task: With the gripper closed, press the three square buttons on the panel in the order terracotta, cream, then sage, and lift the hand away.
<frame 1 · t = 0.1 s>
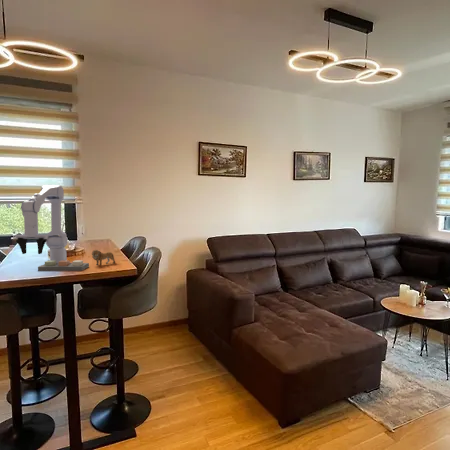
hand: (32, 253, 163), 10 cm above the table, tool pointing down, fingers open, 7 cm apart
lion figurine: (103, 264, 189), on the table
terracotta button: (64, 263, 176), point 3 cm above the table, slide at 0.0 cm
sage button: (50, 263, 176), point 3 cm above the table, slide at 0.0 cm
cream button: (77, 263, 177), point 3 cm above the table, slide at 0.0 cm
button panel: (64, 268, 177), on the table
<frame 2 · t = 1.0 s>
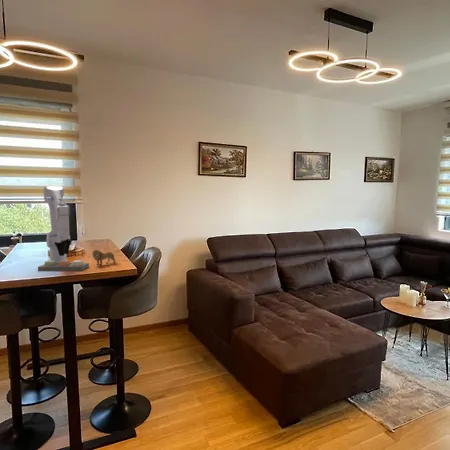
hand: (63, 254, 176), 7 cm above the table, tool pointing down, fingers open, 5 cm apart
nothing on the table moved.
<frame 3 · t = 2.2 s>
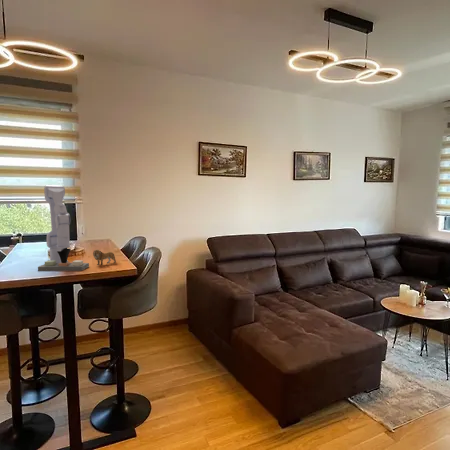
hand: (64, 262, 176), 3 cm above the table, tool pointing down, fingers closed, pressing on terracotta button
terracotta button: (64, 265, 176), point 2 cm above the table, slide at 0.9 cm, touching gripper
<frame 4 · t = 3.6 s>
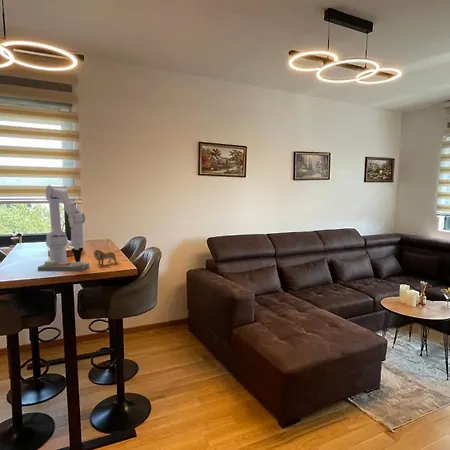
hand: (77, 261, 177), 4 cm above the table, tool pointing down, fingers closed, pressing on cream button
terracotta button: (64, 265, 176), point 2 cm above the table, slide at 0.9 cm
cream button: (77, 263, 177), point 2 cm above the table, slide at 0.2 cm, touching gripper
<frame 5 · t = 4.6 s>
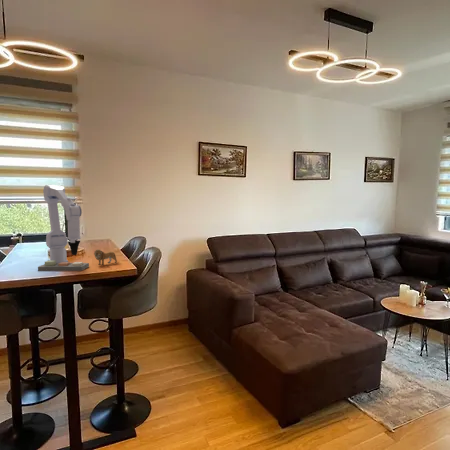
hand: (74, 254, 176), 7 cm above the table, tool pointing down, fingers closed
cream button: (77, 265, 177), point 2 cm above the table, slide at 0.9 cm
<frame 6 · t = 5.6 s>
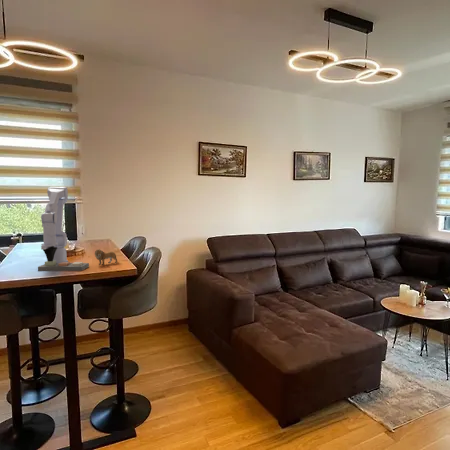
hand: (50, 261, 176), 4 cm above the table, tool pointing down, fingers closed, pressing on sage button
sage button: (50, 263, 176), point 3 cm above the table, slide at 0.0 cm, touching gripper
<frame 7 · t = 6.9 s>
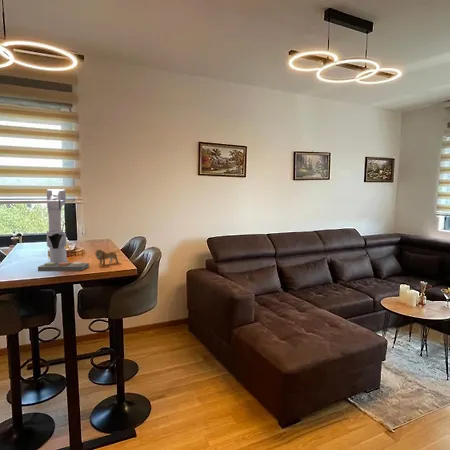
hand: (55, 248, 177), 10 cm above the table, tool pointing down, fingers closed
sage button: (50, 265, 176), point 2 cm above the table, slide at 0.9 cm
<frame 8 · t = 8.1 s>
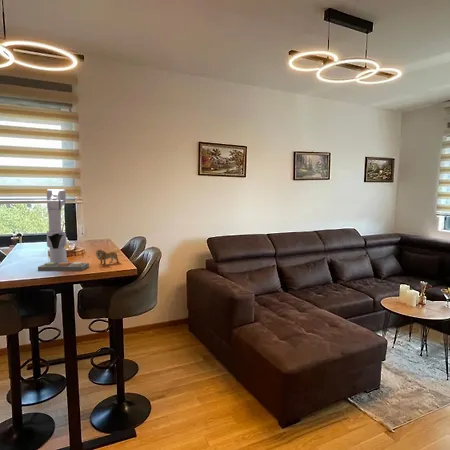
hand: (55, 248, 177), 10 cm above the table, tool pointing down, fingers closed
at the end: terracotta button slide at 0.9 cm; cream button slide at 0.9 cm; sage button slide at 0.9 cm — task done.
